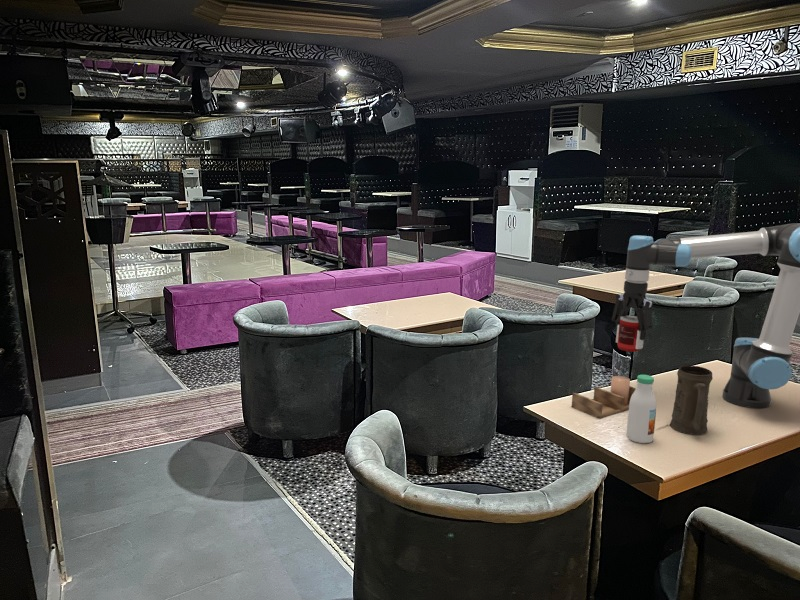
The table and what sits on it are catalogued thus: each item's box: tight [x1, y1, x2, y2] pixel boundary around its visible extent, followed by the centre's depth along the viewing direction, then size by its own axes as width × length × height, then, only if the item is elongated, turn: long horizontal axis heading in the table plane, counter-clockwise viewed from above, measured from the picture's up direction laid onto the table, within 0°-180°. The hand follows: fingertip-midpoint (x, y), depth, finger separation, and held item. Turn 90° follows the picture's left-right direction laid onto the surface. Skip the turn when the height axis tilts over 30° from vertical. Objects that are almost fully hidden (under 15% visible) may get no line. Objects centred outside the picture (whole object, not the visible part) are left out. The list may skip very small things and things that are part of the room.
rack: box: [571, 386, 637, 420], centre depth 204 cm, size 12×23×6 cm, turn 121°
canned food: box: [617, 315, 641, 352], centre depth 206 cm, size 8×8×11 cm
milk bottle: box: [626, 374, 657, 444], centre depth 180 cm, size 8×8×20 cm
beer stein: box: [669, 365, 713, 436], centre depth 186 cm, size 15×11×20 cm
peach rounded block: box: [610, 375, 631, 406], centre depth 207 cm, size 6×6×9 cm
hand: (628, 345), depth 207 cm, fingers closed on canned food, 8 cm apart
